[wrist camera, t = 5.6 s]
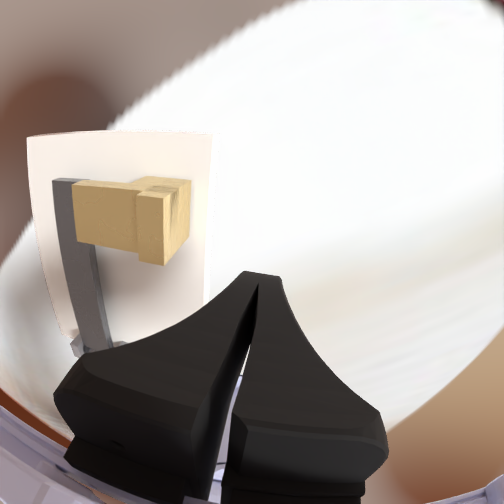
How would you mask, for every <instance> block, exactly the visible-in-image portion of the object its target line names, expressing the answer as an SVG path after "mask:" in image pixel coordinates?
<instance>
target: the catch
mask: <svg viewBox="0 0 504 504" xmlns="http://www.w3.org/2000/svg"><path fill="white" fill-rule="evenodd" d="M191 181H192V180H186V179H176V178H166V177H155V176H145V177H143V178H140V179H138V180H136V181H134V182H132V183H122V182H110V181H96V180H82V181H79V182H77V183H74V184H72V198H73V209H74V219H75V228H76V235H77V241H78V242H83V243H88V244H93V245H98V246H103V247H108V248H114V249H119V250H124V251H129V252H134V253H138V256H139V261H141V262H146V263H151V264H156V265H161V266H165V265H166V263H167V262H168V261H169V260H170V259H171V257H172V256H173V255H174V254H175V253H176V251H177V250H178V249H179V248H180V247H181V246H182V244H183V243H184V242H185V241H186V240H187V239H188V237H189V230H190V202H191Z"/></svg>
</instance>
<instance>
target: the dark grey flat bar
mask: <svg viewBox="0 0 504 504" xmlns="http://www.w3.org/2000/svg"><path fill="white" fill-rule="evenodd" d="M82 180H90V179H77V178H57V179H54V180H52V190H53V201H54V211H55V219H56V226H57V233H58V240H59V246H60V252H61V258H62V263H63V268H64V273H65V278H66V282H67V287H68V291H69V295H70V299H71V303H72V307H73V311H74V314H75V318H76V322H77V325H78V328H79V332H80V335H81V338H82V341H83V345H84V347H83V351H84V353H91V352H96V351H100V350H105V349H109V348H114V346H113V342H112V338H111V334H110V329H109V325H108V320H107V316H106V311H105V306H104V301H103V295H102V290H101V284H100V278H99V272H98V265H97V258H96V250H95V245H93V244H88V243H83V242H78V241H77V235H76V228H75V219H74V209H73V198H72V184H74V183H77V182H79V181H82Z"/></svg>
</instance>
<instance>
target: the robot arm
mask: <svg viewBox="0 0 504 504" xmlns="http://www.w3.org/2000/svg"><path fill="white" fill-rule="evenodd" d="M249 346H250V350H249V354H248V358H247V362H246V365H245V369H244V372H243V376H242V377H241V376H239V375H240V373H241V370H242V367H243V364H244V361H245V358H246V355H247V352H248V349H249ZM53 395H54V402H55V405H56V407H57V409H58V411H59V412H60V414H61V416H62V417H63V419H64V420H65V422H66V423H67V425H68V426H69V428H70V429H71V430H72V432H73V433H74V435H75V437H74V439H73V440H72V442H71V444H70V446H69V447H68V449H67V448H65V447H63V446H61V445H59V444H58V443H56V442H54V441H52V440H51V439H49V438H47V437H46V436H44V435H42V434H41V433H39V432H38V431H36V430H35V429H33V428H32V427H30V426H29V425H27V424H26V423H24V422H23V421H21V420H20V419H18V418H17V417H15V416H14V415H12V414H11V413H10V412H8V411H7V410H6V409H5V408H3V407H2V406H1V405H0V500H1V501H2V502H3V503H4V504H106V503H104V502H103V501H102V500H100V499H99V498H98V497H96V496H95V495H94V493H93V492H92V491H91V490H90V489H88V488H87V487H85V486H83V485H81V484H80V483H78V482H77V481H79V482H81V483H83V484H85V485H87V486H89V487H91V488H93V489H95V490H97V491H99V492H101V493H103V494H106V495H108V496H110V497H112V498H115V499H117V500H119V501H122V502H124V503H127V504H361V499H360V498H361V497H362V496H363V495H364V494H365V480H366V479H367V478H368V477H369V476H371V475H372V474H373V473H374V472H375V471H376V470H377V469H378V468H380V466H381V465H382V464H383V463H384V462H385V460H386V459H387V458H388V453H389V449H388V441H387V435H386V432H385V428H384V424H383V421H382V418H381V415H380V412H379V411H378V410H376V409H375V408H374V407H372V406H371V405H370V404H369V403H367V402H366V401H365V400H363V399H362V398H361V397H360V396H358V395H357V394H356V393H354V392H353V391H352V390H351V389H350V388H349V387H348V386H347V385H346V384H345V383H343V382H342V381H341V380H340V379H339V378H338V377H337V376H336V375H335V374H334V373H333V371H332V370H331V369H330V368H329V367H328V366H327V365H326V364H325V362H324V361H323V360H322V359H321V358H320V356H319V355H318V354H317V352H316V351H315V350H314V348H313V347H312V345H311V344H310V343H309V341H308V340H307V338H306V336H305V335H304V333H303V331H302V330H301V328H300V326H299V324H298V322H297V320H296V318H295V316H294V314H293V312H292V310H291V308H290V305H289V303H288V300H287V298H286V295H285V292H284V289H283V285H282V280H281V278H280V277H279V276H273V275H267V274H261V273H255V272H249V271H243V272H242V273H240V275H239V276H238V277H237V278H236V279H235V280H234V281H233V282H232V283H231V284H230V285H229V286H227V287H226V288H225V289H224V290H223V291H222V292H221V293H220V294H218V295H217V296H216V297H215V298H214V299H212V300H211V301H210V302H208V303H207V304H206V305H204V306H203V307H202V308H200V309H199V310H198V311H196V312H195V313H193V314H192V315H190V316H188V317H187V318H185V319H183V320H182V321H180V322H178V323H177V324H175V325H173V326H170V327H168V328H166V329H164V330H162V331H159V332H157V333H155V334H153V335H150V336H148V337H145V338H143V339H140V340H137V341H134V342H131V343H128V344H124V345H121V346H117V347H114V348H109V349H105V350H100V351H96V352H91V353H85V354H83V355H82V356H81V357H80V358H79V359H78V360H77V362H76V363H75V364H74V365H73V366H72V368H71V369H70V371H69V372H68V373H67V375H66V376H65V378H64V379H63V380H62V382H61V383H60V385H59V386H58V387H57V389H56V390H55V392H54V393H53ZM67 475H68V476H67ZM69 476H70V477H72V478H73V479H72V478H70V477H69ZM74 479H75V480H77V481H75V480H74ZM427 504H504V474H503V475H501V476H499V477H497V478H496V479H495V480H493V481H492V482H490V483H489V484H488V485H487V486H486V487H484V488H481V489H478V490H475V491H472V492H469V493H466V494H462V495H459V496H456V497H452V498H448V499H444V500H440V501H436V502H431V503H427Z"/></svg>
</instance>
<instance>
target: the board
mask: <svg viewBox="0 0 504 504" xmlns="http://www.w3.org/2000/svg"><path fill="white" fill-rule="evenodd" d="M219 135H220V134H213V133H200V132H183V131H156V130H107V131H82V132H66V133H53V134H43V135H36V136H32V137H28V138H27V156H28V174H29V186H30V196H31V204H32V211H33V219H34V226H35V232H36V237H37V243H38V248H39V253H40V258H41V262H42V267H43V271H44V275H45V279H46V283H47V287H48V291H49V294H50V298H51V301H52V305H53V308H54V311H55V315H56V318H57V321H58V324H59V327H60V330H61V333H62V335H65V336H67V337H70V338H72V339H74V340H73V341H72V342H71V344H70V345H71V348H72V350H73V353H74V356H76V357H78V358H80V357H81V356H82V355H83V354H85V353H84V351H83V347H84V345H83V341H82V338H81V335H80V332H79V328H78V325H77V322H76V318H75V314H74V311H73V307H72V303H71V299H70V295H69V291H68V287H67V282H66V278H65V273H64V268H63V263H62V258H61V252H60V246H59V240H58V233H57V226H56V219H55V211H54V201H53V190H52V180H54V179H57V178H77V179H90V180H96V181H110V182H122V183H132V182H134V181H136V180H138V179H140V178H143V177H145V176H155V177H166V178H176V179H186V180H192V181H191V202H190V230H189V237H188V239H187V240H186V241H185V242H184V243H183V244H182V246H181V247H180V248H179V249H178V250H177V251H176V253H175V254H174V255H173V256H172V257H171V259H170V260H169V261H168V262H167V263H166V265H165V266H161V265H156V264H151V263H146V262H141V261H139V256H138V253H134V252H129V251H124V250H119V249H114V248H108V247H103V246H98V245H95V250H96V258H97V265H98V272H99V278H100V284H101V290H102V295H103V301H104V306H105V311H106V316H107V320H108V325H109V329H110V334H111V338H112V342H113V346H114V347H117V346H121V345H124V344H128V343H131V342H134V341H137V340H140V339H143V338H145V337H148V336H150V335H153V334H155V333H157V332H159V331H162V330H164V329H166V328H168V327H170V326H173V325H175V324H177V323H178V322H180V321H182V320H183V319H185V318H187V317H188V316H190V315H192V314H193V313H195V312H196V311H198V310H199V309H200V308H202V307H203V306H204V305H206V304H207V303H208V302H209V280H210V259H211V240H212V224H213V209H214V194H215V181H216V169H217V157H218V145H219Z"/></svg>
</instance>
